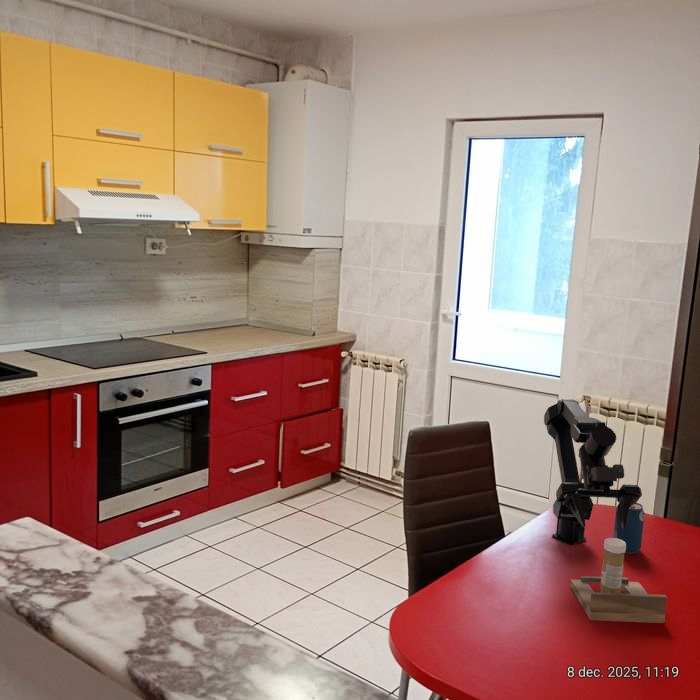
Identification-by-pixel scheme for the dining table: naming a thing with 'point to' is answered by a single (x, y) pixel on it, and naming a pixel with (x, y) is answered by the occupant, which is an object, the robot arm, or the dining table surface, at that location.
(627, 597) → the wooden frame
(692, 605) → the dining table surface
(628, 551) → the soda can
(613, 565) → the sprinkles bottle
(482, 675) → the dining table surface
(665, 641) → the dining table surface
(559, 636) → the dining table surface
